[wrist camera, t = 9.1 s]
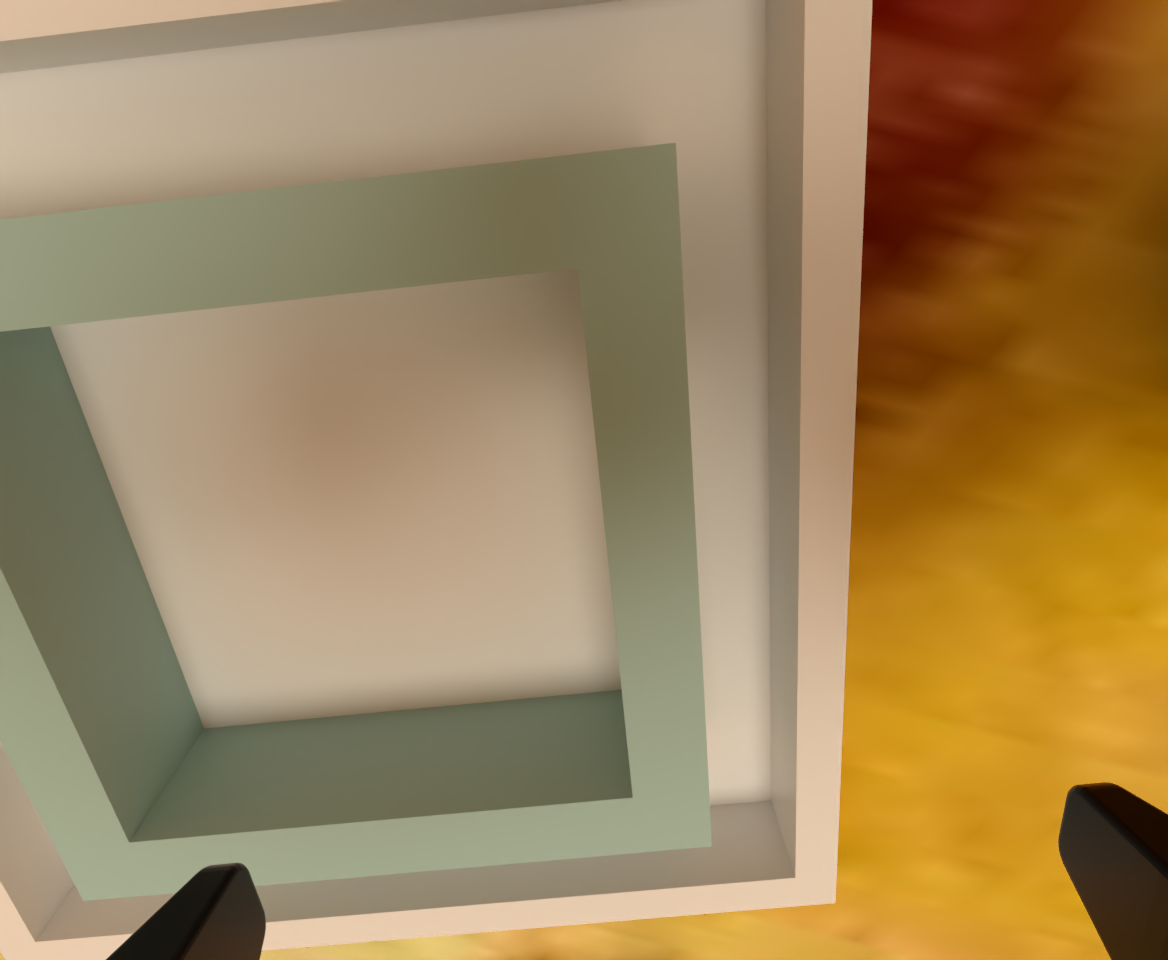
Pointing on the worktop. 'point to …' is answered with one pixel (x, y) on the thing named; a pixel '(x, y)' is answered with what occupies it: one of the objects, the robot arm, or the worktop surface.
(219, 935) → the robot arm
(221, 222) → the shallow green box
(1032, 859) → the worktop surface
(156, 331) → the tray
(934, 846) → the worktop surface
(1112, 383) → the worktop surface
